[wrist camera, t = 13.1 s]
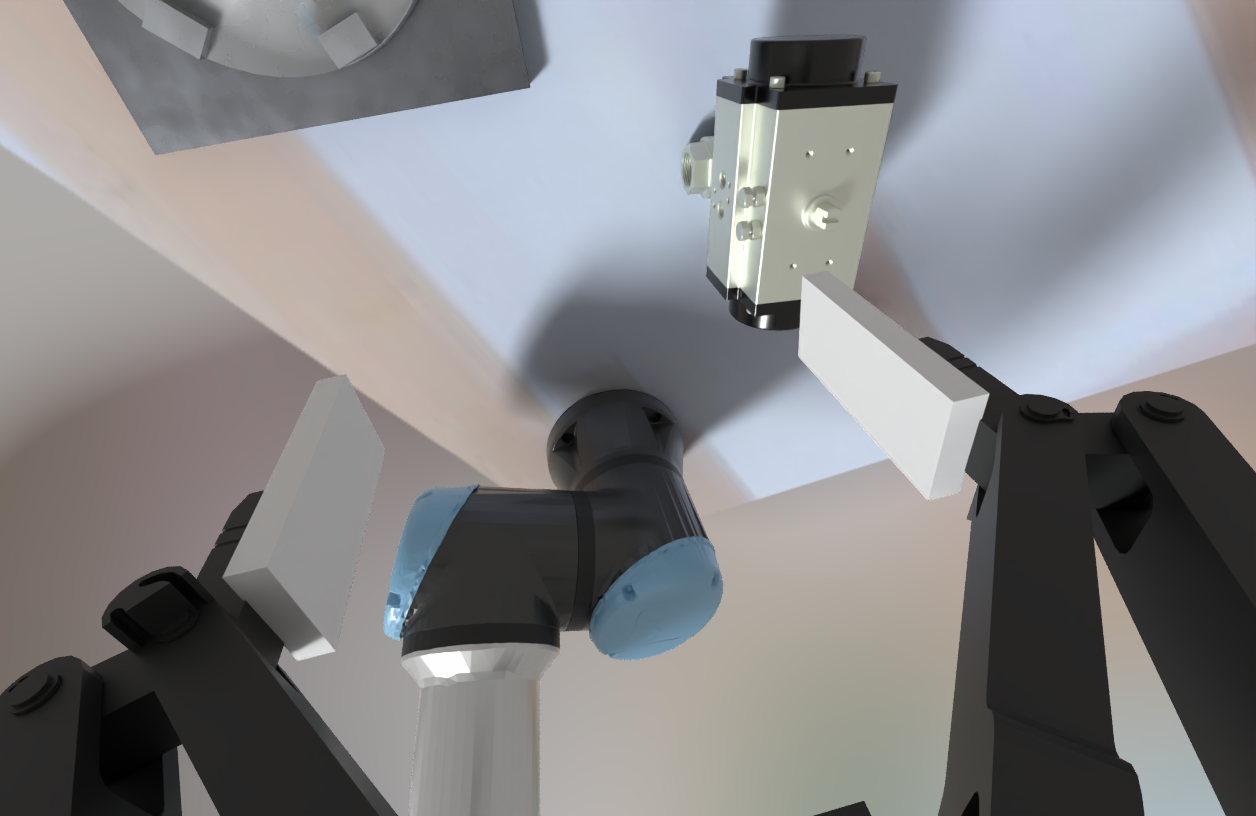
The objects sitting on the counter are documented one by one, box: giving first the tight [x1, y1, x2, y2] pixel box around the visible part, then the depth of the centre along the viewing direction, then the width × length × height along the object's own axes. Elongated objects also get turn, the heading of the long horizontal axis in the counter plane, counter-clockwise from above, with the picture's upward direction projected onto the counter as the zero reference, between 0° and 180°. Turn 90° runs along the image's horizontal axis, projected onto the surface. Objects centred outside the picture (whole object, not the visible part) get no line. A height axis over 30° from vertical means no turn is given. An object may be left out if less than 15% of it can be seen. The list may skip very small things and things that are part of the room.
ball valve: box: [681, 35, 898, 331], centre depth 41 cm, size 18×8×18 cm, turn 2°
